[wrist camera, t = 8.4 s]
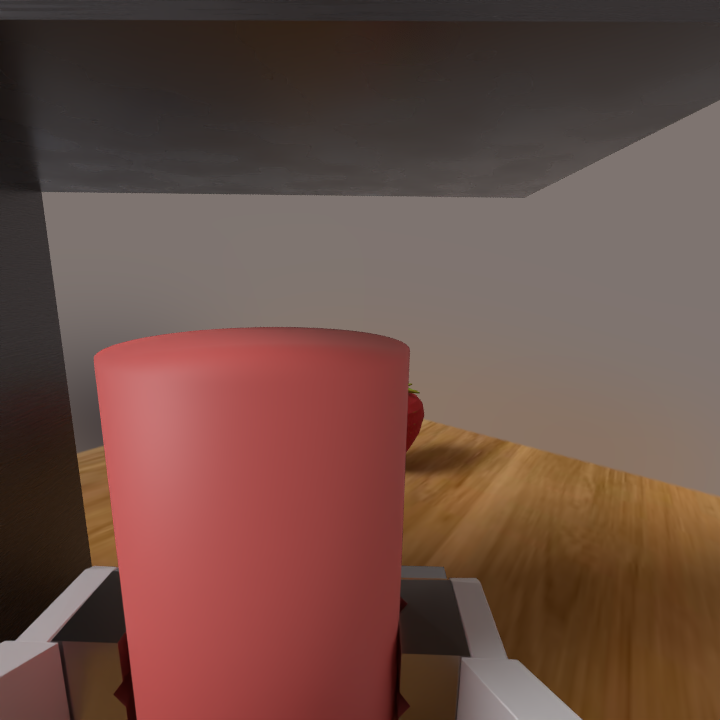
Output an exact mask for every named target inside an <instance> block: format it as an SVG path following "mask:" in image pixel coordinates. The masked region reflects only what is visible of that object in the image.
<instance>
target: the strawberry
mask: <svg viewBox="0 0 720 720" xmlns="http://www.w3.org/2000/svg"><path fill="white" fill-rule="evenodd" d="M410 385H412V384H408V386H410ZM413 393H419V392H417V391H416V390H412V389H410V388H408V410H407V435H406V452H407V451H408V449H409V448H410V446H411V445H412V443H413V442H414V440H415V439H416V437H417V435H418V434H419V431H420V428H421V425H422V421H423V418H424V410H423V404H422V402H421V401H420V399H419V398H418V397H417V396H416V395H415V394H413Z"/></svg>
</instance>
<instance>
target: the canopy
mask: <svg viewBox="0 0 720 720" xmlns="http://www.w3.org/2000/svg"><path fill="white" fill-rule="evenodd" d="M718 100H720V0H0V643H2V642H4V641H15V640H16V639H17V638H18V637H19V636H20V635H21V634H22V633H23V632H24V631H25V630H26V629H27V628H28V627H29V626H30V625H31V624H32V623H33V622H34V621H35V620H36V619H37V618H38V617H39V616H40V615H41V614H42V613H43V612H44V611H45V610H46V609H47V608H48V607H49V606H50V605H51V604H52V603H53V602H54V601H55V600H56V599H57V598H58V597H59V596H60V595H61V594H62V593H63V592H64V591H65V590H66V589H67V588H68V587H69V586H70V585H71V584H72V582H73V581H74V580H75V579H76V578H77V577H78V576H79V575H80V574H81V573H82V572H83V571H84V570H85V569H88V568H90V567H92V564H91V557H90V549H89V542H88V534H87V527H86V519H85V512H84V505H83V497H82V490H81V482H80V475H79V468H78V460H77V453H76V445H75V439H74V431H73V423H72V416H71V408H70V401H69V394H68V386H67V379H66V372H65V364H64V357H63V349H62V342H61V334H60V327H59V319H58V312H57V305H56V297H55V290H54V283H53V276H52V268H51V261H50V253H49V245H48V238H47V231H46V223H45V216H44V208H43V201H42V193H41V192H98V193H179V194H187V193H188V194H261V195H263V194H264V195H265V194H266V195H343V196H346V195H347V196H348V195H349V196H426V197H427V196H428V197H430V196H431V197H507V198H508V197H509V198H510V197H511V198H525V197H527V196H529V195H530V194H533V193H535V192H537V191H539V190H540V189H543V188H545V187H547V186H549V185H550V184H553V183H555V182H557V181H559V180H561V179H563V178H565V177H567V176H569V175H571V174H572V173H575V172H577V171H579V170H581V169H583V168H584V167H587V166H589V165H591V164H593V163H595V162H596V161H599V160H600V159H603V158H604V157H606V156H608V155H611V154H612V153H615V152H617V151H619V150H620V149H623V148H624V147H627V146H629V145H630V144H633V143H634V142H637V141H638V140H641V139H643V138H645V137H646V136H648V135H651V134H652V133H655V132H657V131H658V130H661V129H663V128H664V127H667V126H668V125H670V124H673V123H674V122H676V121H678V120H680V119H682V118H684V117H686V116H689V115H691V114H693V113H694V112H696V111H699V110H700V109H702V108H705V107H707V106H709V105H711V104H713V103H715V102H717V101H718Z"/></svg>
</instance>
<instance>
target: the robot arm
mask: <svg viewBox="0 0 720 720" xmlns="http://www.w3.org/2000/svg"><path fill="white" fill-rule="evenodd" d="M0 720H137V716H136V708H135V699H134V691H133V683H132V674H131V666H130V658H129V649H128V641H127V633H126V624H125V616H124V608H123V599H122V591H121V583H120V574H119V568H118V567H105V566H93V567H90V568H88V569H85V570H84V571H83V572H82V573H81V574H80V575H79V576H78V577H77V578H76V579H75V580H74V581H73V582H72V584H71V585H70V586H69V587H68V588H67V589H66V590H65V591H64V592H63V593H62V594H61V595H60V596H59V597H58V598H57V599H56V600H55V601H54V602H53V603H52V604H51V605H50V606H49V607H48V608H47V609H46V610H45V611H44V612H43V613H42V614H41V615H40V616H39V617H38V618H37V619H36V620H35V621H34V622H33V623H32V624H31V625H30V626H29V627H28V628H27V629H26V630H25V631H24V632H23V633H22V634H21V635H20V636H19V637H18V638H17V639H16V640H15V641H4V642H2V643H0ZM395 720H582V719H581V718H580V717H579V716H578V715H577V714H576V713H575V712H574V711H572V710H571V709H570V708H569V707H568V706H567V705H566V704H565V703H564V702H563V701H562V700H561V699H560V698H558V697H557V696H556V695H555V694H554V693H553V692H552V691H551V690H550V689H549V688H548V687H547V686H545V685H544V684H543V683H542V682H541V681H540V680H539V679H538V678H537V677H536V676H535V675H534V674H532V673H531V672H530V671H529V670H528V669H527V668H526V667H525V666H524V665H523V664H522V663H521V662H520V661H518V660H513V659H508V657H507V655H506V652H505V649H504V646H503V644H502V641H501V638H500V635H499V632H498V630H497V627H496V624H495V621H494V619H493V616H492V613H491V610H490V608H489V605H488V602H487V599H486V597H485V594H484V591H483V588H482V586H481V583H480V581H479V580H478V579H477V578H449V579H442V578H403V577H401V587H400V612H399V627H398V650H397V680H396V702H395Z"/></svg>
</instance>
